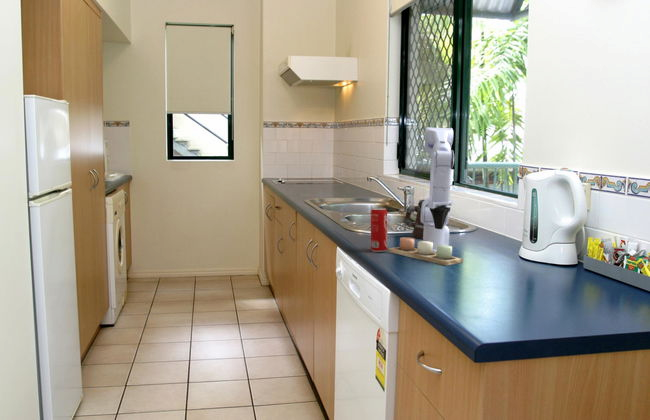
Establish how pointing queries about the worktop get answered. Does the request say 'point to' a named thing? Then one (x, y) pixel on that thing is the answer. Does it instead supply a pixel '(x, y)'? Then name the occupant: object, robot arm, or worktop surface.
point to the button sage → (444, 251)
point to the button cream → (425, 247)
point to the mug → (418, 224)
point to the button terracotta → (407, 243)
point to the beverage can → (378, 229)
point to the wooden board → (426, 256)
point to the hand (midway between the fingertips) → (438, 228)
